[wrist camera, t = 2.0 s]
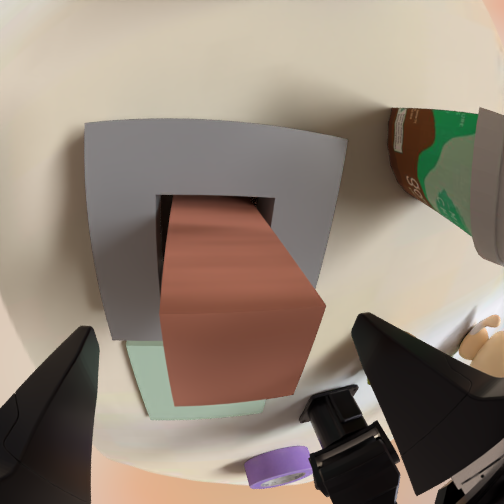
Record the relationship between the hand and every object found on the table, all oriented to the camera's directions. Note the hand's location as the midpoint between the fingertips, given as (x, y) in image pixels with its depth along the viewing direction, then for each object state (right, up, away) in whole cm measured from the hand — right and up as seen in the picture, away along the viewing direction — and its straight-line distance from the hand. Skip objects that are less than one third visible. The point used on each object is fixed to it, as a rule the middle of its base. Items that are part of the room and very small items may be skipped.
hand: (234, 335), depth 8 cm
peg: (-2, +4, +7) cm, 9 cm away
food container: (+13, +9, +9) cm, 18 cm away
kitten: (+38, -13, +27) cm, 49 cm away
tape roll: (+5, -34, +30) cm, 45 cm away
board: (-4, -9, +14) cm, 17 cm away
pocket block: (-2, +4, +7) cm, 9 cm away
